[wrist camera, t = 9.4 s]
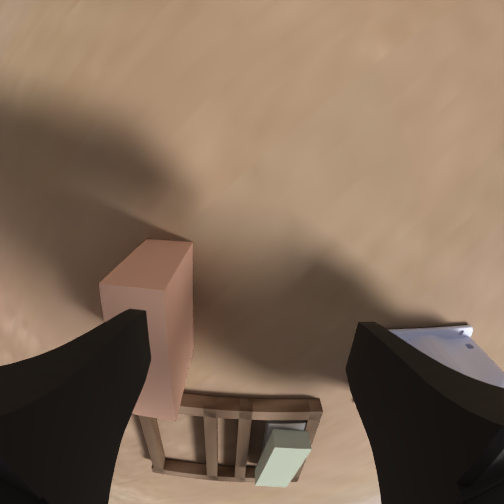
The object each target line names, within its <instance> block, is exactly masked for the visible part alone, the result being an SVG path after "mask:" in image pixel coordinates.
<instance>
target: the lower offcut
mask: <svg viewBox="0 0 504 504" xmlns="http://www.w3.org/2000/svg"><path fill="white" fill-rule="evenodd" d="M305 424H306V422H305V420H266V425H265V432H264V439H263V445H262V452H261V455H262V453H263V451H264V449H265V447H266V444H267V442H268V440H269V438H270V435H271V433H272V431H273V429H282V430H296V431H304V428H305Z"/></svg>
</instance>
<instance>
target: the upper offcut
mask: <svg viewBox="0 0 504 504" xmlns="http://www.w3.org/2000/svg"><path fill="white" fill-rule="evenodd" d="M311 449H312V448H311V443H310V437H309V432H308V431H296V430H282V429H273V431H272V433H271V435H270V438H269V440H268V442H267V444H266V447H265V449H264V451H263V453H262V455H261V457H260V460H259V462H258V464H257V466H256V468H255V486H270V487H287V486H288V484H289V483H290V481H291V480H292V479H293V477H294V476H295V474H296V473H297V471H298V470H299V468H300V467H301V465H302V464H303V462H304V460H305V459H306V457H307V456H308V454H309V453H310V451H311Z"/></svg>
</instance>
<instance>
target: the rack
mask: <svg viewBox="0 0 504 504" xmlns="http://www.w3.org/2000/svg"><path fill="white" fill-rule="evenodd" d="M322 413H323V410H322V406H321V402H320V399H251V398H232V397H217V396H206V395H195V394H186V393H183V395H182V399H181V403H180V407H179V412H178V414H184V415H193V416H202V417H204V434H205V452H206V464H199V463H190V462H182V461H175V460H168V459H166V458H165V454H164V450H163V446H162V442H161V437H160V433H159V428H158V423H157V418H152V417H146V416H140V415H139V419H140V423H141V427H142V430H143V434H144V437H145V441H146V444H147V448H148V451H149V454H150V458H151V461H152V471H153V472H155V473H160V474H166V475H173V476H180V477H187V478H195V479H205V480H216V481H231V482H255V468H256V467H246V463H247V455H248V447H249V439H250V430H251V422H252V420H305V422H306V424H305V428H304V431H308V432H309V437H310V443H311V444H312V442H313V439H314V436H315V433H316V430H317V427H318V425H319V422H320V419H321V416H322ZM218 418H227V419H238V431H237V445H236V459H235V466H221V465H218ZM306 458H307V457H306ZM305 460H306V459H305ZM305 460H304V462H303V464H302V465H301V467H300V468H299V470H298V471H297V473H296V474H295V476H294V477H293V479H292V480H291V481H290V482H297V481H298V478H299V476H300V473H301V471H302V468H303V466H304V463H305Z"/></svg>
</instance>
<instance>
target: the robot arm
mask: <svg viewBox="0 0 504 504" xmlns="http://www.w3.org/2000/svg"><path fill="white" fill-rule="evenodd" d="M460 331H461V332H460ZM472 332H473V327H472V326H471V325H463V326H450V327H435V328H416V329H390V330H387V329H386V328H384V327H382V326H381V325H379V324H377V323H375V322H358V326H357V329H356V333H355V337H354V341H353V344H352V348H351V351H350V355H349V358H348V362H347V365H346V373H347V378H348V382H349V386H350V391H351V394H352V396H353V399H354V402H355V404H356V407H357V410H358V412H359V415H360V417H361V420H362V423H363V425H364V428H365V430H366V433H367V436H368V438H369V441H370V445H371V448H372V451H373V456H374V460H375V465H376V470H377V475H378V481H379V487H380V494H381V503H382V504H504V372H503V371H502V370H501V369H500V368H499V367H498V366H497V364H496V363H495V362H494V361H493V360H492V359H491V358H490V357H489V356H488V355H487V354H486V353H485V352H484V351H483V350H482V349H481V348H480V347H479V346H478V345H477V344H476V343H475V342H474V341H473V340H472V339H471V338H470V337H471V334H472ZM395 334H396V335H395ZM150 363H151V351H150V343H149V334H148V324H147V314H146V310H138V309H128V310H125V311H123V312H122V313H120V314H118V315H116V316H115V317H113V318H111V319H110V320H108V321H106V322H104V323H103V324H101V325H99V326H98V327H96V328H94V329H93V330H91V331H89V332H87V333H85V334H84V335H82V336H80V337H78V338H76V339H74V340H72V341H70V342H68V343H66V344H64V345H62V346H60V347H58V348H56V349H53V350H51V351H48V352H46V353H43V354H41V355H38V356H35V357H32V358H29V359H26V360H22V361H19V362H16V363H12V364H8V365H3V366H0V504H108V500H109V494H110V488H111V482H112V477H113V472H114V468H115V463H116V459H117V455H118V451H119V447H120V443H121V440H122V437H123V434H124V431H125V429H126V426H127V424H128V421H129V419H130V417H131V414H132V412H133V410H134V407H135V405H136V403H137V400H138V398H139V396H140V393H141V391H142V389H143V386H144V384H145V381H146V377H147V374H148V370H149V366H150Z"/></svg>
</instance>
